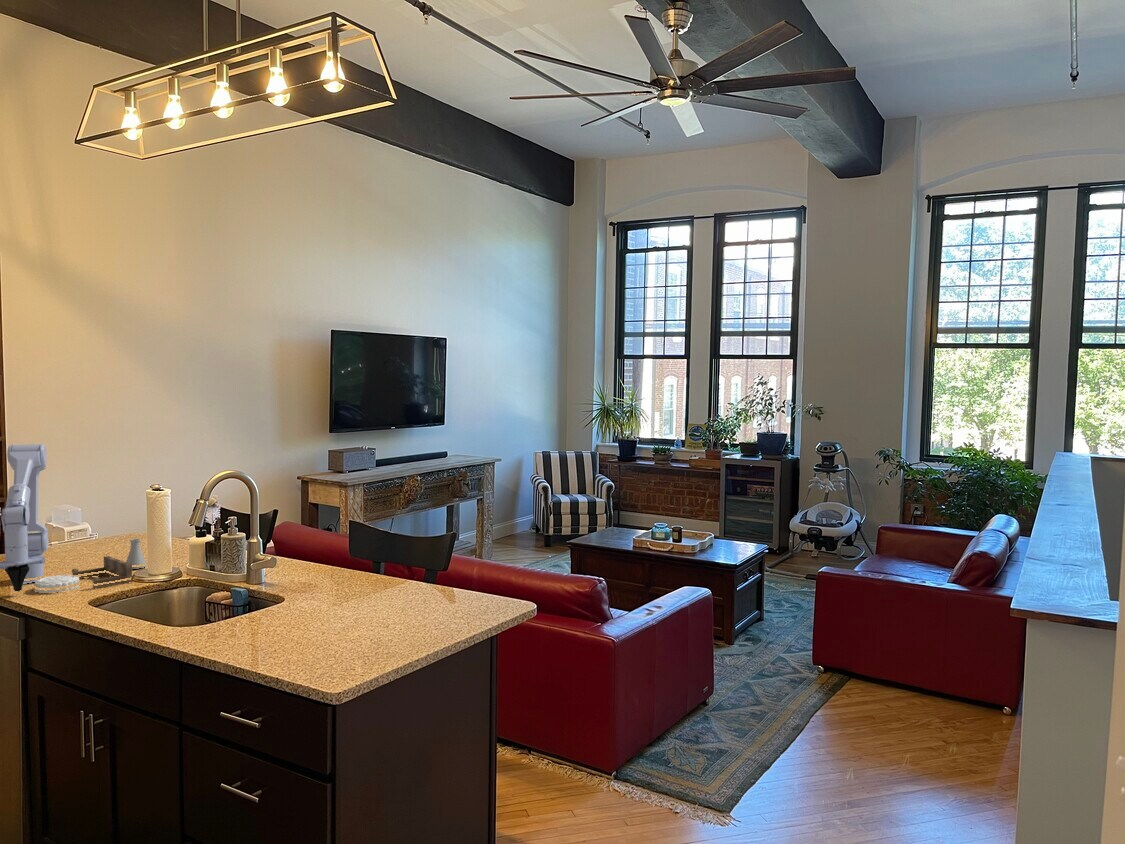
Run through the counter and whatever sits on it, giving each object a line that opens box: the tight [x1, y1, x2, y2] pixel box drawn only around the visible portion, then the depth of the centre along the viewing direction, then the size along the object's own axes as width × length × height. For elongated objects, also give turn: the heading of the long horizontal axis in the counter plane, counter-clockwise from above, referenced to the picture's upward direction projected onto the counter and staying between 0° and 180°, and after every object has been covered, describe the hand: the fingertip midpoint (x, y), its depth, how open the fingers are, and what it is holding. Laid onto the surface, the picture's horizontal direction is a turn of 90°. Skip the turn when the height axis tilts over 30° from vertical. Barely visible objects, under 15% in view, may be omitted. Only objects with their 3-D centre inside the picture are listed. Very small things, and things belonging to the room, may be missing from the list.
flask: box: [125, 538, 148, 570], centre depth 284 cm, size 7×7×10 cm
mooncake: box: [33, 574, 81, 594], centre depth 256 cm, size 12×12×4 cm
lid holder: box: [71, 555, 133, 589], centre depth 266 cm, size 18×11×6 cm, turn 50°
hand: (17, 590), depth 248 cm, fingers closed
